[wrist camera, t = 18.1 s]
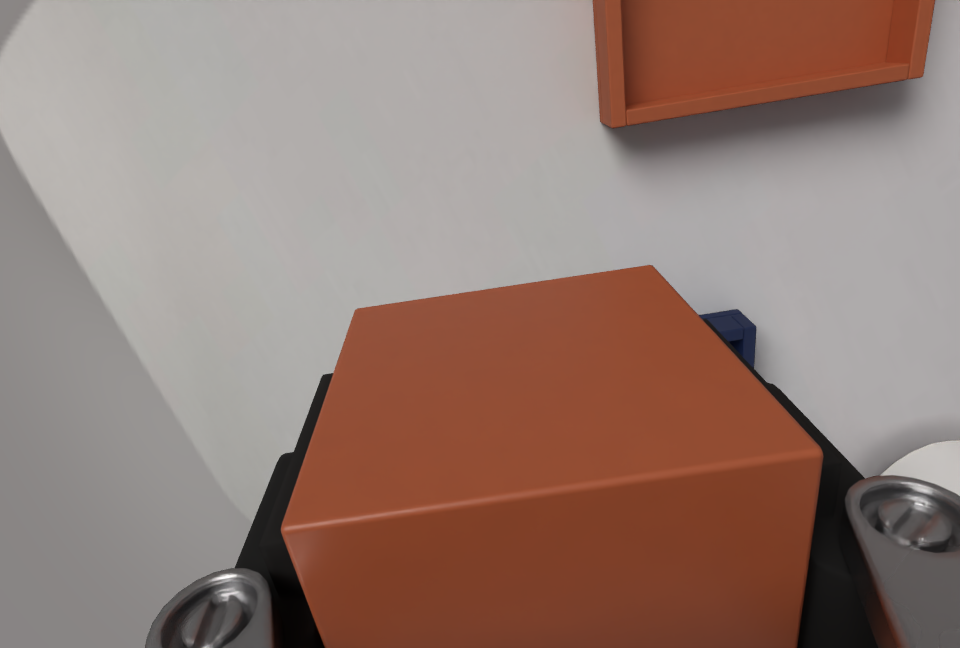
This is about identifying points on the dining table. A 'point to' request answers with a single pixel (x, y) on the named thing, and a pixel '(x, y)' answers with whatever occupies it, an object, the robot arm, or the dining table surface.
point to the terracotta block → (552, 478)
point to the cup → (932, 465)
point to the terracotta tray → (748, 52)
